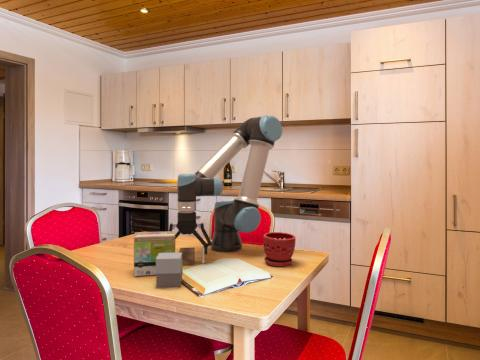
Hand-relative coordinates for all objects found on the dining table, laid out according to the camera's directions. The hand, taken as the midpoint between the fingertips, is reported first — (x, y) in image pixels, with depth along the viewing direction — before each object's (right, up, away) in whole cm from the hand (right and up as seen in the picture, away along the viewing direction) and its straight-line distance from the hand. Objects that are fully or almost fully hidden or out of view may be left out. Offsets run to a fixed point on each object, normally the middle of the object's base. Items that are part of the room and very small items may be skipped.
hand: (186, 262), depth 151 cm
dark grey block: (-2, -2, -24) cm, 24 cm away
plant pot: (+38, -1, +1) cm, 38 cm away
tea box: (-11, -1, -11) cm, 16 cm away
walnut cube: (0, 0, 0) cm, 0 cm away
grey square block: (-2, +3, -25) cm, 25 cm away
